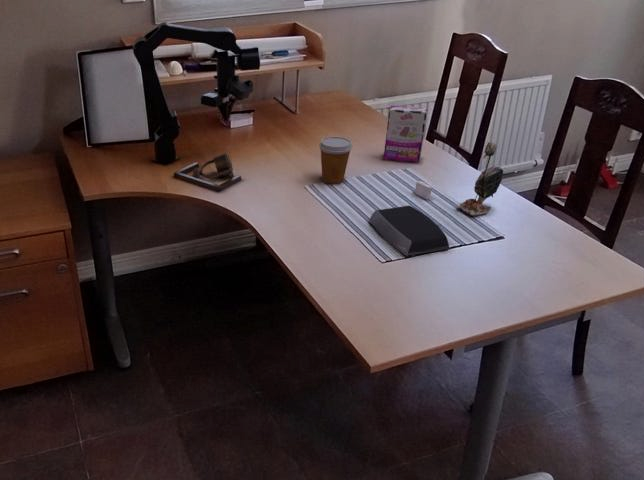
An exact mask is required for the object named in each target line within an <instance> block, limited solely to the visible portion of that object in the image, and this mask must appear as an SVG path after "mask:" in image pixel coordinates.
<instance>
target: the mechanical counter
mask: <svg viewBox="0 0 644 480" xmlns="http://www.w3.org/2000/svg"><path fill="white" fill-rule="evenodd" d="M231 161H232V160H231V159H230V155H229V153H227V152H226V153H223V154H220V155H217V156H213V159H210V160H207V161H206V162H205V163H203V164H202V165H201V167H200V170H199V168H195V169H194V170H192V177H195V178H198V179H201V176H202V177H203V178H206V179H213V178H214V179H215V178H217V177H219V178H222V177H225V176H228V175H230V176H231V178H234V177H235V176H234V172H233V170H234V169H233V165H232V162H231ZM210 164H214V165H215V166H214V167H215V170H216V172H217V173H214V174H210V175H209V174H205V173H203V171H204V169H205V167H207V166H208V165H210Z"/></svg>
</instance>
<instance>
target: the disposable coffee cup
mask: <svg viewBox="0 0 644 480" xmlns="http://www.w3.org/2000/svg"><path fill="white" fill-rule="evenodd" d="M318 148H319V149H320V163H321V179H322V181H323V182H324V183H327V184H332V185H333V184H334V185H335V184H340V183H342V182H344V180H345V175H346V170H347V166H348V161H349V157H350V153H351V150H352V148H353V144H352V141H351V140H350V139H349V138H347V137H344V136H326V137H323V138H322V139H321V140H320V143H319V144H318Z"/></svg>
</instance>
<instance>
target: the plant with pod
mask: <svg viewBox="0 0 644 480" xmlns="http://www.w3.org/2000/svg"><path fill="white" fill-rule="evenodd" d="M497 146H498V145H497V144H496V143H495V142H493V141H490V142H487V144H486V146H485V148H484V155H483V159H485V158H486V157H488V159H487V163H486V166H485V169H484V170H483V171H482V172H481V173H480V174H479V176H478V177H477V178H476V180H475V182H474V186H473V188H474V189H473V191H474V193H475V194H476V195H475V198H468V199H466V200H465V201H463V202H461V203H459V204H458V205H457V206H456V209H461V210H463V211H464V213H467V215H469V216H480V215H483V214H485V215H486V214H487V213H488V212H489V211H490V210H491V208H492V207H491V206H487V205H484V204H483V203H484V201H486V200H487V199H489V198H490V197H491V198H494V194H496V193H497V192H498V189H499V188H500V185H501V183H502V180H503V175H504V169H503V168H502V167H500V166H497V165H492V166H490V167H489V164H490V161H491V159H492V158H491V157H492V156H494V155H495V154H496V152H497V151H496V150H497Z"/></svg>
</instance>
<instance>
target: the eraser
mask: <svg viewBox="0 0 644 480" xmlns="http://www.w3.org/2000/svg"><path fill="white" fill-rule="evenodd" d="M432 190H433V186H431V185H429V184H427V183H425V182H423V181H421V180H418V181H416V183H415V189H414V194H415V195H417V196H419V197H421V198H422V199H424V200H426V201H428V200H430V199H431V194H432Z"/></svg>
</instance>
